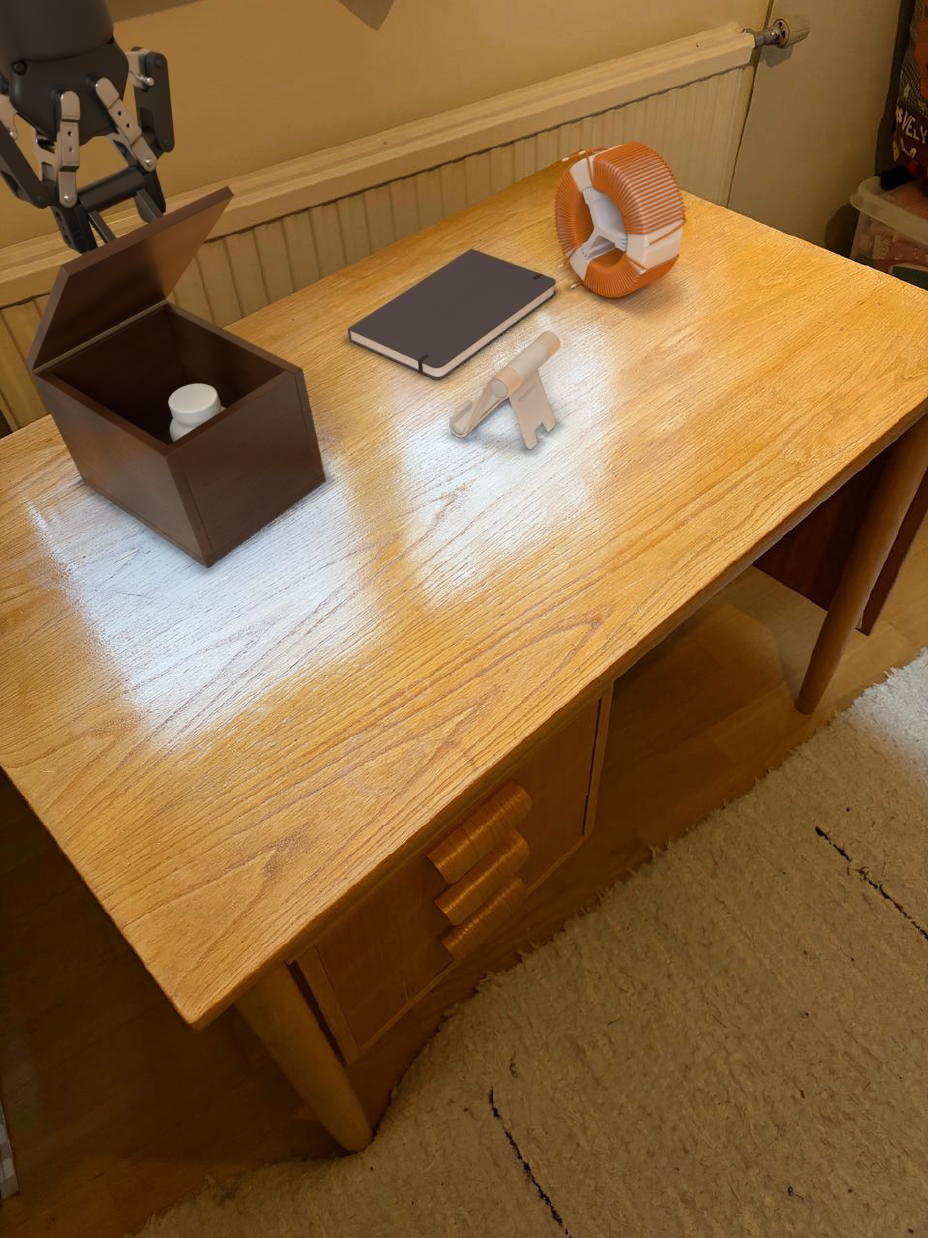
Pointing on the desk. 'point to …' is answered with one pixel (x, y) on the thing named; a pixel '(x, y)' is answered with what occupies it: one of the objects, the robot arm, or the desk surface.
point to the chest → (204, 457)
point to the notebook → (453, 313)
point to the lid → (121, 264)
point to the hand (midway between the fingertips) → (120, 236)
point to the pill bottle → (192, 408)
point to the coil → (619, 218)
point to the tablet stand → (514, 393)
